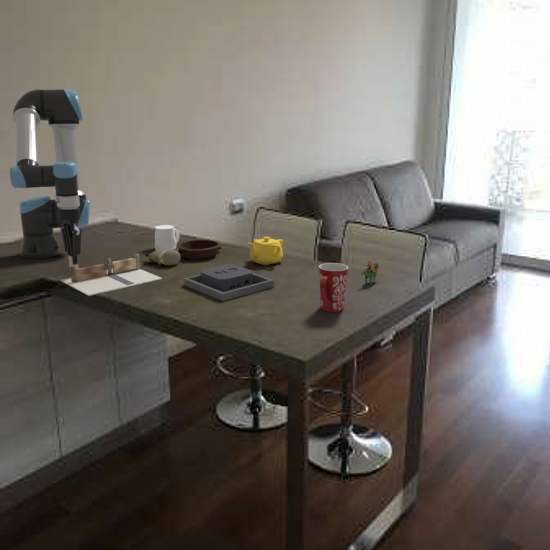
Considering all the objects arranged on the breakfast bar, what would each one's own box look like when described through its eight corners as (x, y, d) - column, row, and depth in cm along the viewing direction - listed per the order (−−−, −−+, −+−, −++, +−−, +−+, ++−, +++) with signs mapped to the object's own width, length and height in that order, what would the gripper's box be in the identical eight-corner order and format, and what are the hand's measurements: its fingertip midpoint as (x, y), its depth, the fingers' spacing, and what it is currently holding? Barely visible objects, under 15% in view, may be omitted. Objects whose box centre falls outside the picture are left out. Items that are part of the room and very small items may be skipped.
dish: (233, 255, 249) (233, 243, 247) (189, 265, 235) (189, 252, 233) (208, 247, 261) (208, 236, 260) (164, 256, 247) (164, 244, 245)
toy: (142, 264, 238) (167, 268, 229) (141, 249, 237) (166, 252, 227) (161, 260, 245) (186, 263, 236) (160, 245, 244) (186, 248, 235)
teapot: (280, 268, 230) (280, 242, 227) (247, 267, 232) (246, 241, 229) (284, 259, 243) (284, 234, 240) (252, 257, 245) (252, 232, 242)
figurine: (381, 280, 216) (382, 258, 214) (363, 288, 208) (365, 265, 205) (373, 278, 218) (375, 256, 216) (356, 286, 209) (357, 263, 207)
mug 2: (325, 301, 195) (326, 261, 191) (351, 306, 190) (353, 265, 186) (306, 313, 184) (307, 270, 180) (333, 318, 180) (335, 275, 176)
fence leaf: (104, 273, 219) (103, 260, 218) (107, 275, 218) (106, 261, 217) (70, 281, 211) (69, 266, 210) (72, 282, 210) (71, 267, 208)
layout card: (60, 280, 214) (60, 279, 214) (131, 266, 232) (131, 264, 232) (88, 296, 198) (88, 294, 198) (162, 279, 216) (162, 277, 216)
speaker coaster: (184, 285, 210) (183, 278, 209) (234, 273, 224) (233, 266, 223) (222, 301, 194) (222, 293, 194) (273, 287, 208) (273, 280, 208)
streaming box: (231, 276, 220) (230, 263, 219) (255, 286, 210) (255, 272, 208) (197, 284, 211) (197, 270, 210) (221, 295, 201) (221, 280, 199)
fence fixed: (109, 276, 219) (108, 259, 217) (107, 275, 220) (105, 258, 218) (140, 270, 227) (139, 253, 225) (138, 269, 228) (137, 252, 227)
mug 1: (161, 230, 250) (149, 227, 255) (162, 252, 252) (150, 248, 258) (184, 225, 258) (172, 222, 263) (184, 246, 261) (173, 243, 266)
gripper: (50, 206, 212) (57, 270, 219) (66, 211, 203) (72, 278, 210) (70, 203, 217) (76, 266, 224) (87, 208, 208) (92, 274, 215)
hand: (74, 272), depth 217 cm, fingers closed
